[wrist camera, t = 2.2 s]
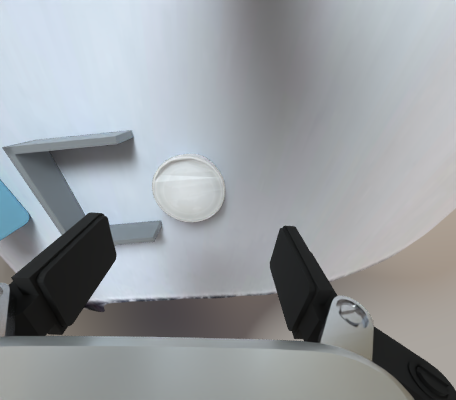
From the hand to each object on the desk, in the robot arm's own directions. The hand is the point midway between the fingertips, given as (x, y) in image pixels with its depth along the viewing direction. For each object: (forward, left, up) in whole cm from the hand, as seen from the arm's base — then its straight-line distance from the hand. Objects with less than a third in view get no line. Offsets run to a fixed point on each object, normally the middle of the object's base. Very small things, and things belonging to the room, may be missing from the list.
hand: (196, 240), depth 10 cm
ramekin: (+4, +5, -23) cm, 24 cm away
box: (+19, +5, -22) cm, 30 cm away
